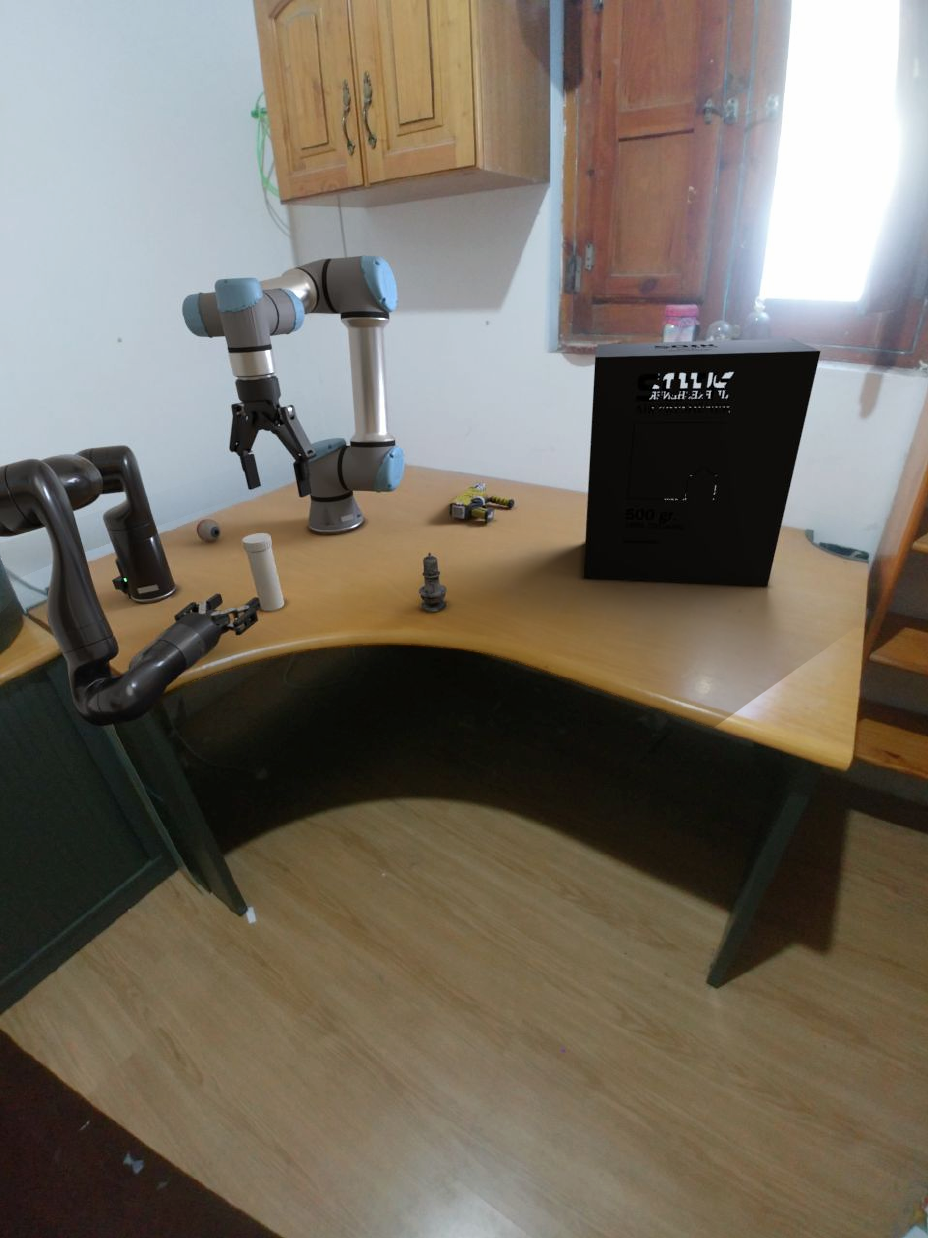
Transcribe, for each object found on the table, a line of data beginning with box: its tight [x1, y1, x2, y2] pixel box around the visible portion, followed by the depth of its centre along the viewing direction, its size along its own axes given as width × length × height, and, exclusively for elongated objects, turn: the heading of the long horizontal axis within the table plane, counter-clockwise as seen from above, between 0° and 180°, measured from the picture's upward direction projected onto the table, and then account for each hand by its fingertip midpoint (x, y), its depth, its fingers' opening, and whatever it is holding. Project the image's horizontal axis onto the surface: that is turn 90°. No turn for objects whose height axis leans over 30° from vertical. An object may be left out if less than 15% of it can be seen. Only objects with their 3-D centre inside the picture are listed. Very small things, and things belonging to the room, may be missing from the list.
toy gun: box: [448, 481, 515, 523], centre depth 173 cm, size 5×24×15 cm
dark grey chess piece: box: [417, 551, 448, 613], centre depth 122 cm, size 6×6×12 cm
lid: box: [242, 532, 273, 552], centre depth 122 cm, size 6×6×2 cm
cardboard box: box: [583, 337, 821, 587], centre depth 126 cm, size 38×20×45 cm, turn 78°
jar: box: [246, 546, 285, 612], centre depth 126 cm, size 5×5×15 cm
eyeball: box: [196, 518, 222, 543], centre depth 162 cm, size 6×6×6 cm
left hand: (238, 599), depth 118 cm, fingers open, 8 cm apart
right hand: (279, 491), depth 119 cm, fingers open, 13 cm apart
